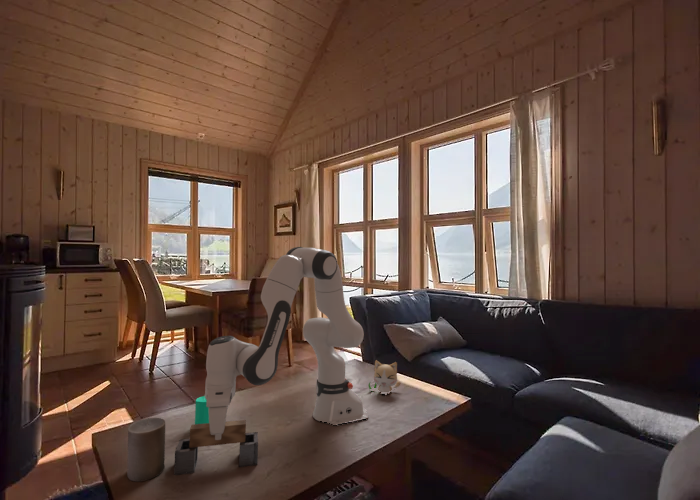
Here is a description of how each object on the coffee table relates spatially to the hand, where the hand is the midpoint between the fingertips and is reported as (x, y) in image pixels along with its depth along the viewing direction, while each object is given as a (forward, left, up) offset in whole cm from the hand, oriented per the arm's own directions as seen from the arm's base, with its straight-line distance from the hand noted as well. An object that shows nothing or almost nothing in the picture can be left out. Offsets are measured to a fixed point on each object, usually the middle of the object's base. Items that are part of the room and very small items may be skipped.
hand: (218, 435), depth 112 cm
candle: (+7, -25, -9) cm, 28 cm away
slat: (0, 0, -2) cm, 2 cm away
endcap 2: (-9, 0, -9) cm, 12 cm away
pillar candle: (+20, 0, -9) cm, 22 cm away
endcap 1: (+9, 0, -9) cm, 12 cm away
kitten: (-71, -43, -9) cm, 84 cm away
